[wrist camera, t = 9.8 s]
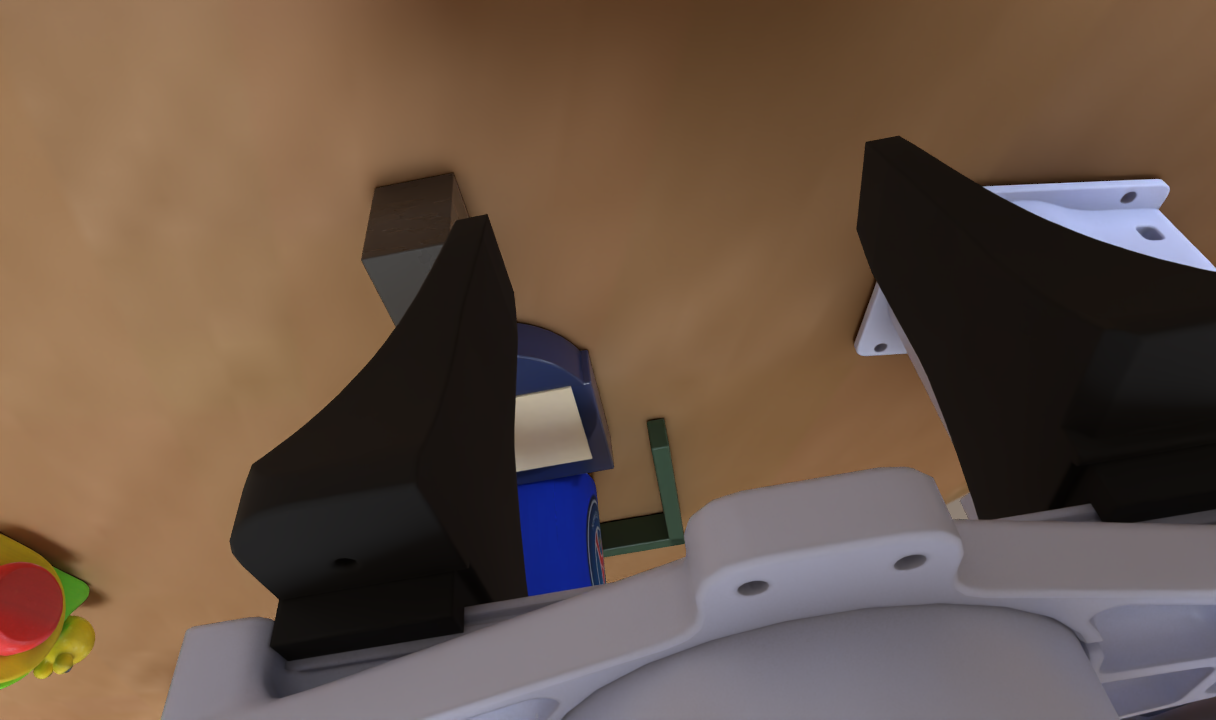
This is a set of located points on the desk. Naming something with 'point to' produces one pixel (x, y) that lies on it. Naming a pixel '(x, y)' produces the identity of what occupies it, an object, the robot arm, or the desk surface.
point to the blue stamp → (546, 363)
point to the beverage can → (561, 534)
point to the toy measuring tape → (38, 616)
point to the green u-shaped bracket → (654, 527)
